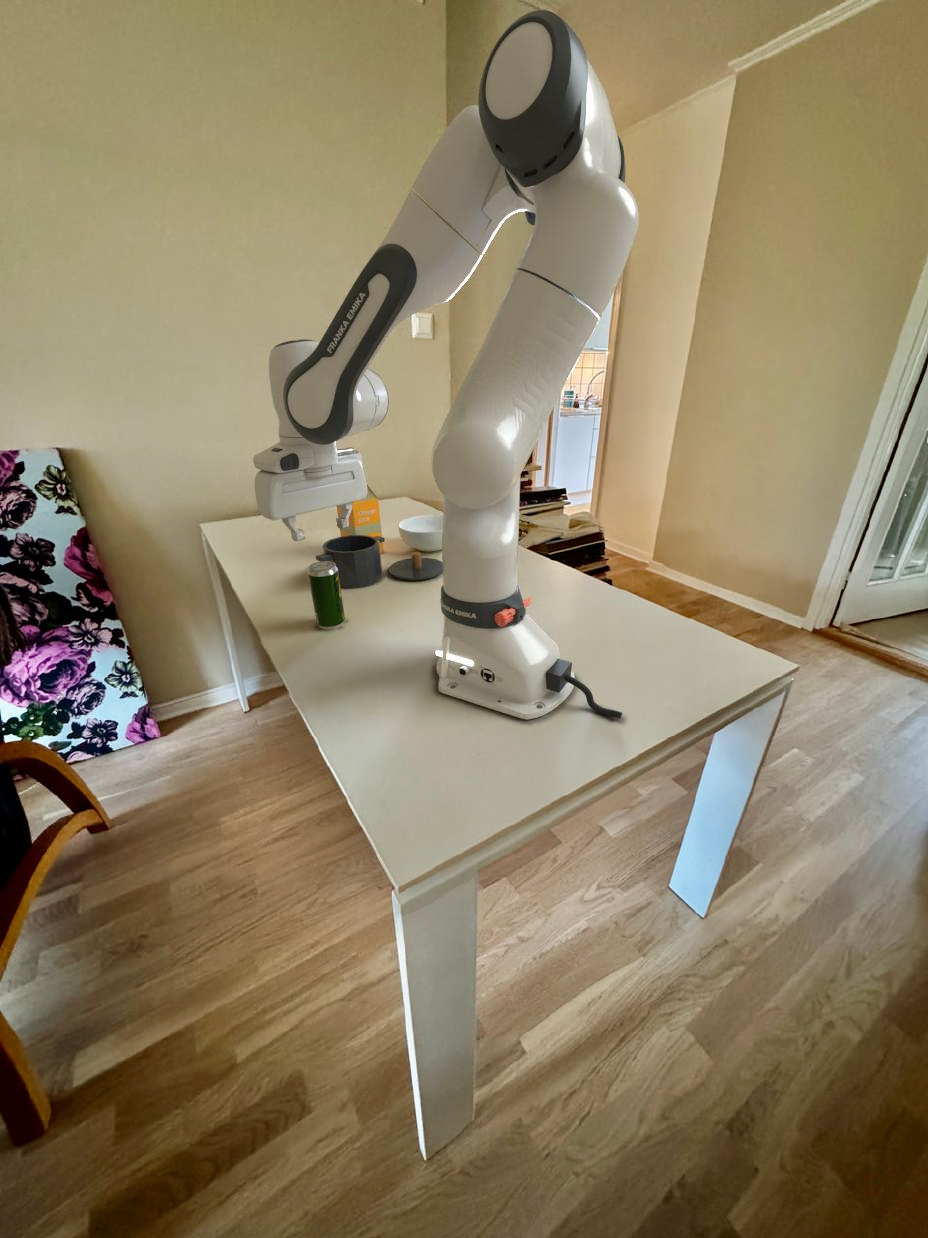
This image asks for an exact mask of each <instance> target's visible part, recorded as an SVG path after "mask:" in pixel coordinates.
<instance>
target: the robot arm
mask: <svg viewBox="0 0 928 1238" xmlns="http://www.w3.org/2000/svg"><path fill="white" fill-rule="evenodd" d="M477 99H478V100H477V101H478V102H477V103H478V104H472V105H468V106H466V107H464V108H462V109H460V111H459V112H457V114H456V115H455V117H453V119H452V121H451V122H450V124H449V125H448V126H447V128H446V129H445V130H444V131H443V133H442V134H441V136H440V138H439V139H438V140H437V142H436V143H435V145H434V146H433V148H432V150H431V151H430V153H429V155H428V156H427V157H426V160H425V162H423V165H422V167H421V169H420V170H419V172H418V174H417V176H416V178H415V180H414V182H413V184H412V186H411V189H409V192H408V194H407V196H406V197H405V199H404V201H403V204H402V206H401V207H400V209H399V212H398V213H397V215H396V217H395V219H394V221H393V223H392V224H391V226H390V228H389V229H388V231H387V233H386V235H385V237H384V238H383V239H382V241H381V243H380V245H379V246H378V247H377V248H376V250H375V252H374V253H373V254H372V256H371V257H370V258H369V260H368V261H367V262H366V264H365V265H364V267H363V269H362V270H361V271H360V273H359V275H358V276H357V278H356V279H355V281H354V282H353V284H352V286H351V288H350V290H349V291H348V293H347V294H346V296H345V298H344V300H343V301H342V303H341V305H340V307H338V310H337V312H336V314H335V315H334V317H333V318H332V320H331V322H330V324H329V325H328V327H327V329H326V331H325V332H324V334H323V336H322V338H321V339H320V341H319V342H318V341H316V340H314V339H306V338H305V339H304V338H303V339H302V338H301V339H296V340H294V339H292V340H288V341H283V342H280V343H278V344H277V345H275V346H274V347H273V348H272V349H271V350H270V352H269V357H268V379H269V385H270V392H271V400H272V404H273V408H274V410H275V412H276V415H277V418H278V440H279V442H277V443H275V444H273V445H271V446H270V447H268V448H265V449H264V450H262V451H260V452H258V453H257V454H254V456H253V457H252V461H253V466H254V468H256V469H257V470H258V472H257V473H256V474H255V476H254V494H255V501H256V506H257V510H258V513H259V514H260V515H261V516H262V517H263V518H265V519H267V520H270V521H279V520H281V521H282V523H283V524H284V525H285V526H286V527H287V529H288V530H289V531H290V535H291V539H292V540H293V542H300V541H304V540H305V539H306V537H305V530H304V529H301V528H299V527H297V525H296V524H295V523H296V522H297V516H300V515H305V514H309V513H313V512H317V511H321V510H325V509H329V508H333V507H337V506H338V505H339V507H340V508H342V509H341V513H340V517H339V518H338V517H336V518H335V521H336V527H337V528H338V529H340V528H341V529H343V528H347V527H349V521H348V518H349V516H350V513H351V511H352V502H355V501H359V500H363V499H365V498H366V496H367V493H368V491H367V485H368V483H367V479H366V475H365V471H364V466H363V462H362V461H363V459H362V454H361V453H360V452H359V451H358V450H357V449H355V448H354V447H345V448H337V442H338V441H340V440H342V439H344V438H347V437H351V436H354V435H358V434H361V433H365V432H368V431H371V430H373V429H375V428H376V427H378V426H380V425H381V424H382V423H383V422H384V420H385V419H386V417H387V414H388V411H389V392H388V390H387V387H386V384H385V383H384V381H383V379H382V378H381V377H380V376H379V374H377V373H376V372H375V371H374V370H373V369H371V368H370V365H371V364H372V363H373V361H374V359H375V358H376V356H377V354H378V353H379V351H380V350H381V348H382V347H383V345H384V343H385V342H386V340H387V338H388V337H389V336H390V335H391V333H392V332H393V331H394V329H396V327H397V326H398V325H400V324H401V323H402V322H403V321H404V320H406V319H407V318H409V317H410V316H412V315H415V314H416V313H419V312H421V311H423V310H426V309H429V308H432V307H435V306H438V305H441V304H444V303H446V302H449V300H451V299H452V298H453V297H454V296H455V294H457V292H459V290H460V289H461V288H462V287H463V285H464V284H465V283H466V282H467V281H468V279H469V278H470V277H471V275H472V274H473V272H474V271H475V269H476V268H477V266H478V264H479V263H480V261H481V259H482V258H483V255H484V254H485V252H486V251H487V249H488V248H489V246H490V244H491V242H492V240H493V239H494V237H495V235H496V234H497V232H498V231H499V229H500V227H501V226H502V224H503V223H504V222H505V221H506V219H508V218H509V217H511V216H512V215H513V214H516V213H518V212H519V213H520V212H524V215H525V218H526V221H527V223H528V224H529V225H531V226H533V229H532V233H531V234H530V237H529V240H528V242H527V245H526V247H525V249H524V251H523V254H522V256H521V258H520V260H519V261H518V264H517V266H516V268H515V271H514V273H513V276H512V277H511V280H510V282H509V283H508V286H507V288H506V291H505V293H504V295H503V298H502V300H501V302H500V304H499V306H498V308H497V311H496V313H495V315H494V317H493V320H492V322H491V324H490V327H489V329H488V331H487V333H486V335H485V337H484V339H483V342H482V344H481V346H480V348H479V350H478V352H477V354H476V356H475V358H474V360H473V362H472V364H471V366H470V368H469V369H468V372H467V374H466V376H465V378H464V380H463V382H462V384H461V386H460V388H459V390H458V392H457V394H456V396H455V398H454V400H453V402H452V404H451V406H450V409H449V411H448V412H447V414H446V417H445V418H444V421H443V423H442V425H441V427H440V430H439V431H438V434H437V435H436V438H435V440H434V443H433V445H432V450H431V457H430V458H431V460H430V461H431V470H432V471H431V472H432V476H433V479H434V481H435V484H436V486H437V488H438V490H439V492H441V494H442V495H443V514H442V515H443V528H442V550H441V560H442V561H441V562H442V563H443V573H442V583H443V584H442V585H441V587H440V599H439V601H440V610H441V613H442V615H443V624H442V635H441V645H440V650H436V651H435V655H436V656H438V659H437V662H436V665H435V666H436V667H435V669H436V673H437V675H438V678H439V679H438V685H437V686H438V687H437V689H438V692H439V693H441V694H444V695H447V696H450V697H453V698H456V699H459V700H462V701H466V702H469V703H472V704H475V705H478V706H481V707H484V708H487V709H490V710H493V711H497V712H500V713H503V714H505V715H509V716H512V717H514V718H515V717H516V718H518V719H522V720H526V721H527V720H533V719H536V718H540V717H542V716H544V715H547V714H548V713H550V712H552V711H554V710H555V709H556V708H558V707H559V706H560V705H562V703H563V702H564V701H565V700H566V699H567V698H568V697H569V696H570V694H571V693H572V692H573V690H574V687H575V688H577V689H579V691H581V692H582V693H583V694H584V695H585V698H586V702H587V704H588V706H589V708H591V709H592V710H593V711H594V712H596V713H598V714H600V715H603V716H607V717H613V718H616V719H619V720H621V719H622V717H623V712H622V711H619V710H615V709H611V708H606V707H604V706H601V705H599V704H597V702H595V699H594V696H593V693H592V691H591V689H590V688H588V687H589V686H587V685H586V684H585V683H583V682H582V681H580V680H578V679H577V678H575V672H573V670H572V668H573V662H572V661H569V660H565V659H562V658H561V654H560V648H559V647H558V644H557V643H556V642H555V641H554V640H553V639H552V638H551V637H550V636H549V635H548V634H547V633H546V632H545V631H544V630H543V628H541V627H540V626H539V624H537V622H535V620H533V618H532V617H530V615H529V614H528V613H527V609H526V608H528V607H529V606H531V604H532V603H533V602H532V601H531V600H532V599H533V597H532V596H528V597H527V598H525V599H523V596H522V592H521V591H520V588H519V585H518V560H519V534H520V531H519V530H520V529H519V528H520V502H521V501H520V498H521V496H520V495H521V494H520V493H521V475H522V472H523V471H524V469H525V466H526V464H527V463H528V462H529V461H528V460H529V459H530V457H531V455H532V453H533V451H534V449H535V448H536V444H537V442H538V441H539V439H540V436H541V435H542V433H543V430H544V428H545V426H546V424H547V422H548V420H549V418H550V416H551V414H552V412H553V410H554V408H555V406H556V404H557V402H558V399H559V397H560V395H561V393H562V391H563V389H564V387H565V385H566V383H567V381H568V379H569V377H570V376H571V374H572V372H573V370H574V369H575V367H576V365H577V363H578V362H579V360H580V357H581V355H582V354H583V352H584V350H585V348H586V346H587V345H588V343H589V340H590V339H591V338H592V336H593V334H594V332H595V329H596V328H597V326H598V324H599V322H600V320H601V318H602V317H603V315H604V313H605V311H606V309H607V307H608V305H609V303H610V300H611V298H612V296H613V295H614V292H615V291H616V289H617V286H618V284H619V281H620V279H621V277H622V274H623V272H624V270H625V267H626V264H627V262H628V259H629V256H630V254H631V252H632V249H633V246H634V243H635V240H636V237H637V234H638V231H639V226H640V211H639V210H640V209H639V206H638V202H637V200H636V198H635V196H634V195H633V193H632V191H631V190H630V188H629V186H627V184H626V157H625V150H624V146H623V142H622V140H621V138H620V136H619V135H618V133H617V128H616V124H615V121H614V118H613V115H612V111H611V108H610V102H609V98H608V96H607V93H606V91H605V88H604V86H603V85H602V82H601V80H600V78H599V77H598V75H597V73H596V71H595V69H594V67H593V66H592V64H591V63H590V61H589V59H588V57H587V53H586V49H585V47H584V45H583V42H582V41H581V38H580V37H579V36H578V35H577V33H576V32H575V31H574V29H573V28H572V27H571V26H570V25H569V24H568V23H567V22H566V21H565V20H564V19H563V17H560V16H559V15H558V14H556V13H555V12H553V11H550V10H545V9H537V10H533V11H530V12H527V13H525V14H524V15H522V16H520V17H519V18H518V19H516V20H514V21H513V22H512V23H511V25H509V26H508V27H507V28H506V29H505V31H504V32H503V33H502V34H501V36H500V37H499V38H498V40H497V41H496V43H495V44H494V46H493V48H492V50H491V51H490V53H489V55H488V57H487V60H486V63H485V65H484V67H483V71H482V74H481V78H480V83H479V88H478V98H477Z"/></svg>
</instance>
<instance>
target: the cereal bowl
mask: <svg viewBox="0 0 928 1238" xmlns="http://www.w3.org/2000/svg"><path fill="white" fill-rule="evenodd" d="M397 527H398V533H399V537H400V539H401V540H402V542H403V543H404V544H405V545H407V546H408V547H411V548H414V549H417V550H418V551H421V552H428V553H429V552H430V553H431V552H438V551H442V528H443V514H422V515H421V514H420V515H414V516H411V517H408V518H405V519H402V520H401V521H400V522H399V523H398V525H397Z"/></svg>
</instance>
